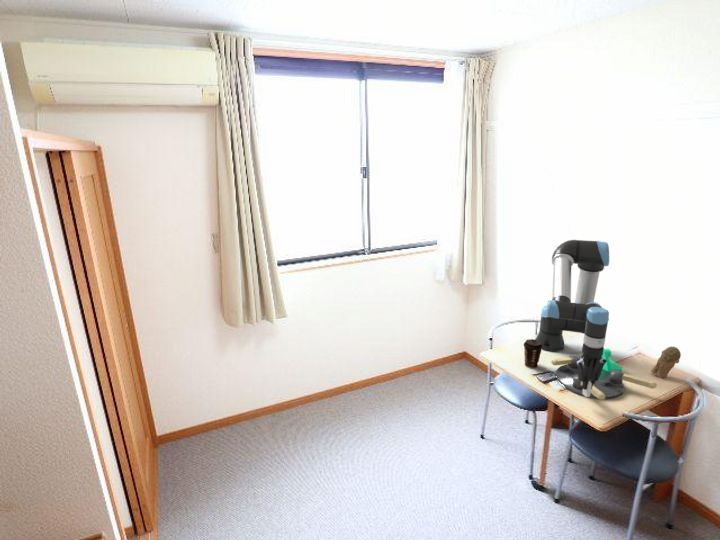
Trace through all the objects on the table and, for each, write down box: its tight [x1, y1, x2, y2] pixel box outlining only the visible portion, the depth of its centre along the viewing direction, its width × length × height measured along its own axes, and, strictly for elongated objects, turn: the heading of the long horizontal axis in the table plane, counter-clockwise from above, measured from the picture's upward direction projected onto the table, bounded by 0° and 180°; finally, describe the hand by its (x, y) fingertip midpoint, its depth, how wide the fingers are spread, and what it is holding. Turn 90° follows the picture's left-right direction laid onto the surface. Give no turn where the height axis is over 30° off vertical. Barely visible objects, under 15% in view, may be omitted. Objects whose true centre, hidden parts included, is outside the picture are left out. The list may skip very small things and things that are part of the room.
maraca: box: [551, 354, 581, 369], centre depth 203 cm, size 14×5×5 cm, turn 100°
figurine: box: [650, 346, 682, 378], centre depth 196 cm, size 8×8×15 cm
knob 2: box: [610, 370, 657, 390], centre depth 186 cm, size 18×5×5 cm, turn 49°
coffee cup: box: [523, 339, 543, 369], centre depth 209 cm, size 9×8×13 cm
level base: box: [555, 364, 625, 400], centre depth 193 cm, size 28×28×10 cm
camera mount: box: [602, 348, 623, 372], centre depth 206 cm, size 12×8×10 cm, turn 2°
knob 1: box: [573, 374, 606, 401], centre depth 181 cm, size 18×5×5 cm, turn 10°
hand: (586, 395), depth 175 cm, fingers closed
